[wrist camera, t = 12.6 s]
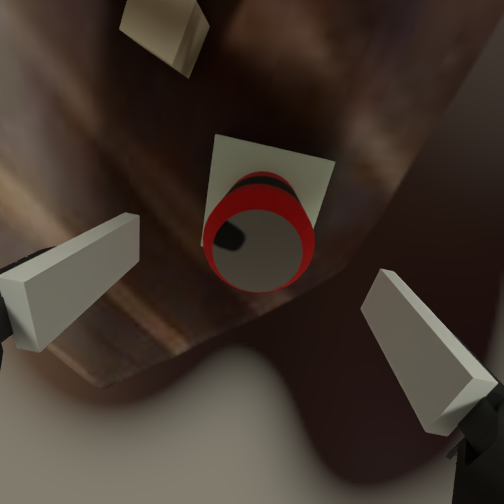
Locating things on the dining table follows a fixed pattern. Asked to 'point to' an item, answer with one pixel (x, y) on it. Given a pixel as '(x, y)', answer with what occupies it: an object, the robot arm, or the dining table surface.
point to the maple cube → (167, 30)
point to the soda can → (259, 234)
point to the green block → (270, 160)
